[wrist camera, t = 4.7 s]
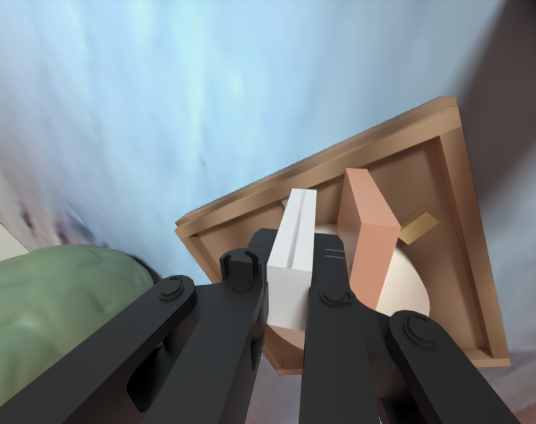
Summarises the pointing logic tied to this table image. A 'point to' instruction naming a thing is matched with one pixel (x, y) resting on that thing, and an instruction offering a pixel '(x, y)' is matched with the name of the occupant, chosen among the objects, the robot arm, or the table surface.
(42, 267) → the green monster figurine
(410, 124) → the brown wooden tray
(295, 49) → the table surface
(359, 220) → the dial
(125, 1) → the table surface
